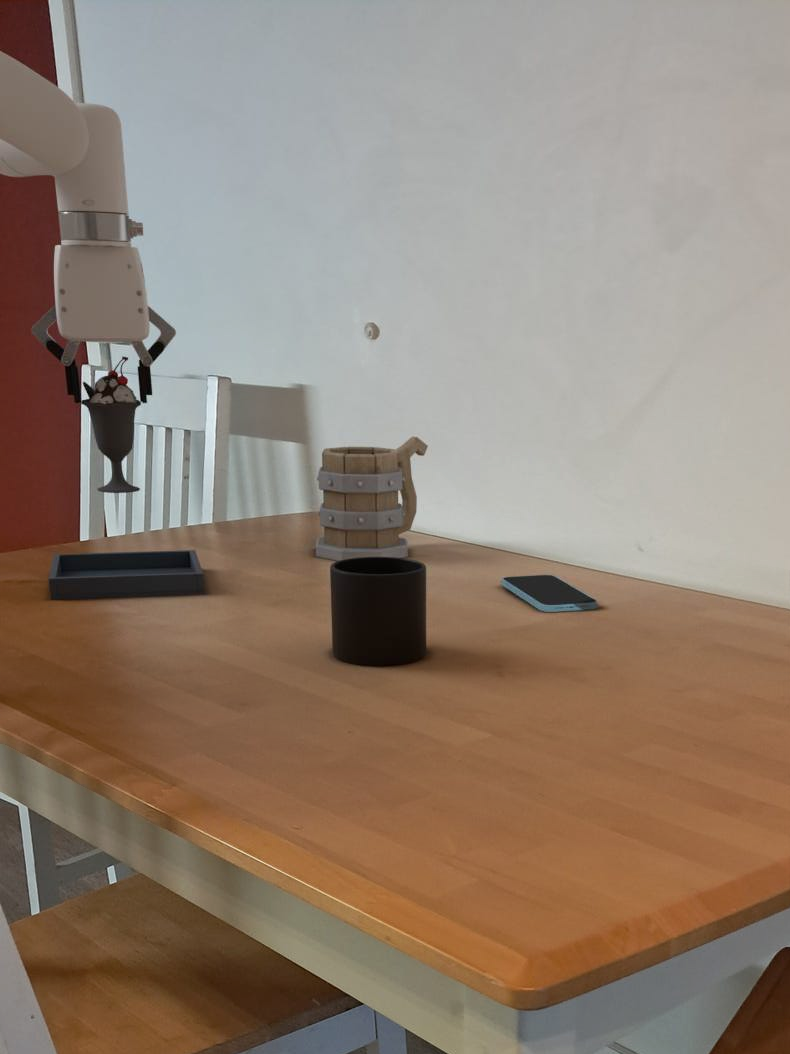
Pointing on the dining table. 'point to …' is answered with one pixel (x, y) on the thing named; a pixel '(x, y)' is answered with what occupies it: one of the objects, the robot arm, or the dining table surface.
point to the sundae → (113, 424)
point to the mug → (378, 610)
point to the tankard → (367, 501)
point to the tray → (125, 574)
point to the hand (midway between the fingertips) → (110, 400)
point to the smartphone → (549, 593)
